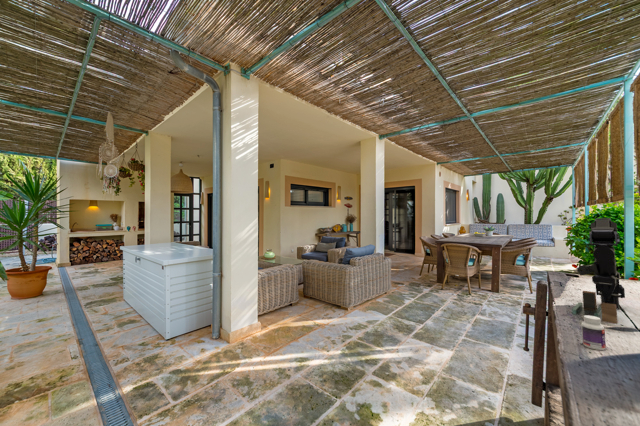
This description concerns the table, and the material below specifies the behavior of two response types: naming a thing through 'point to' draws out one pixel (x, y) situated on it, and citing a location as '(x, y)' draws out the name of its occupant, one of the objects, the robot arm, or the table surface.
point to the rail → (586, 311)
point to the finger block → (609, 313)
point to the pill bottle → (593, 333)
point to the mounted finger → (589, 300)
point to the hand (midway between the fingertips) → (608, 297)
